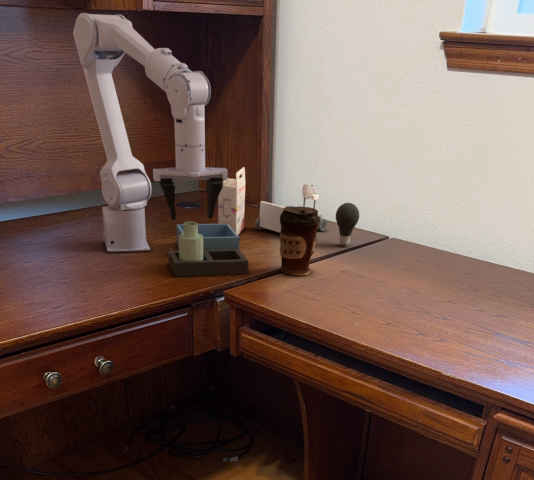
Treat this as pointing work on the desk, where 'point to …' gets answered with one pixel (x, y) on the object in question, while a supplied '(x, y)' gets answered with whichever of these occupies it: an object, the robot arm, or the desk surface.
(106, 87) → the robot arm
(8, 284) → the desk surface
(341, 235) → the light bulb
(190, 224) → the bottle
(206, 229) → the basket
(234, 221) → the ink cartridge box
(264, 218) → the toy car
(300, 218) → the coffee cup
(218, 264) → the bottle rack
